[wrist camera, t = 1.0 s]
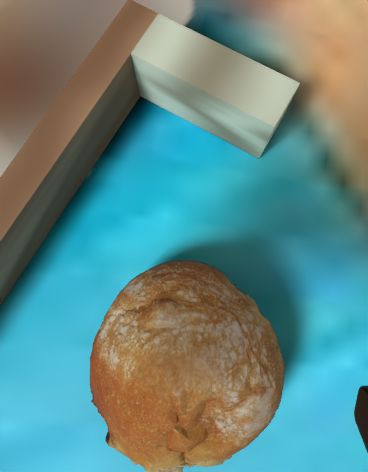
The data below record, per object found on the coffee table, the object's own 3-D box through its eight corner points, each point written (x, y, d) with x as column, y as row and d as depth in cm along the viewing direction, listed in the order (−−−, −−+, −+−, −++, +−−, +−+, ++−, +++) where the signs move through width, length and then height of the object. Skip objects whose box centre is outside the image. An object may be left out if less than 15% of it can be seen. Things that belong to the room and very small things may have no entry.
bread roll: (272, 357, 23) (349, 322, 17) (188, 520, 18) (255, 564, 11) (158, 267, 24) (188, 201, 18) (45, 392, 19) (29, 362, 12)
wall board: (280, 121, 23) (300, 83, 19) (79, 472, 19) (50, 517, 15) (138, 49, 24) (128, -1, 20) (-80, 365, 20) (-146, 379, 16)
